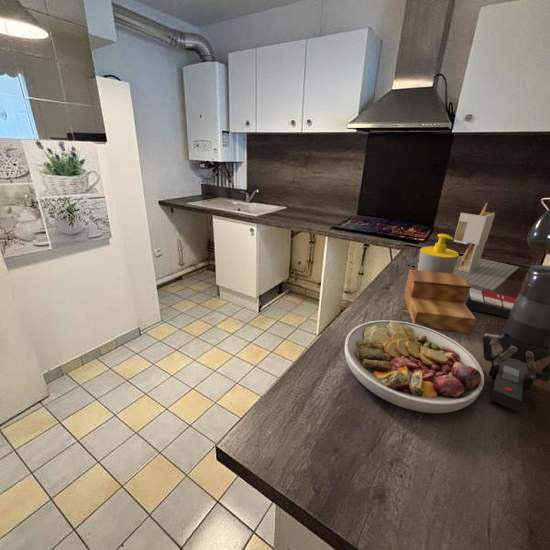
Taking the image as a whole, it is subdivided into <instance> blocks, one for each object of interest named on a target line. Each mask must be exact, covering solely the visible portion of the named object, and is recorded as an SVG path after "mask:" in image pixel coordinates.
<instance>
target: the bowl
mask: <svg viewBox="0 0 550 550" xmlns="http://www.w3.org/2000/svg"><path fill="white" fill-rule="evenodd" d="M344 356H345V360H346V363H347V365H348V367H349V369H350V371H351V372H352V374H353V376H355V378H356V379H357V380H358V381H359V382H360V384H362V385H363V386H364V387H365V388H366V389H368V390H369V391H370V392H372V394H374V395H376V396H378V397H379V398H381V399H382V400H384V401H386V402H388V403H390V404H392V405H395V406H397V407H400V408H403V409H406V410H410V411H415V412H419V413H426V414H446V413H452V412H457V411H460V410H462V409H464V408H467V407H469V406H470V405H471V404H473V403H474V402H475V401H476V399H477V398H478V397H479V396H480V394H481V393H482V390H483V387H484V385H485V376H484V375H485V374H484V371H483V369H482V367H481V365H480V363H479V361H478V360H477V359H476V358H475V356H474V355H473V354H472V353H471V352H470V351H468V349H466V348H465V347H464V346H463V345H461V344H460V343H458V342H457V341H456V340H454V339H452V338H451V337H449V336H447V335H445V334H443V333H441V332H439V331H437V330H435V329H433V328H428V327H423V326H420V325H416V324H413V322H407V321H402V320H393V319H392V320H390V319H389V320H388V319H381V320H371V321H367V322H364V323H361V324H359V325H357V326H355V327H354V328H353V329H351V330H350V331H349V332H348V334H347V336H346V338H345V341H344Z"/></svg>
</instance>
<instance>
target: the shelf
mask: <svg viewBox="0 0 550 550" xmlns="http://www.w3.org/2000/svg"><path fill="white" fill-rule="evenodd" d="M408 270H409V271H408V275H407V280H406V284H405V290H404V293H403V294H404V295H403V299H404V301H405V304H406V308H407V311H408V313H409V317H410V320H411V323H412V324H416V325H420V326H423V327H426V328H429V329H434V330H435V329H437V330H444V331H449V332H458V333H463V334H464V333H466V334H472V333H473V330H474V326H475V323H476V321H477V319H476V317H475V316H474V314H473V312H472V311H471V310H469V309H468V307H467V306H466V305H465V300H466V296H467V293H468V290H469V288H472V287H471V286H470V285H469V283H466V282H465V280H464V279H463V278H462V277H461V276H460V275H459V274H451V273H441V272H430V271H420V270H417V269H408Z"/></svg>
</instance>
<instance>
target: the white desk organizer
mask: <svg viewBox="0 0 550 550" xmlns="http://www.w3.org/2000/svg"><path fill="white" fill-rule="evenodd" d="M487 205H488V202H485V204H484V206H483V208H482V210H481V212H480V213H479V214H472V213H466V212H460V215H459V219H458V222H457V226H456V230H455V234H454V237H453V242H454V243H459V244H464V245H468V246H467V248H466V250H465V252H464V253H463V254H464V255H463V256H462V257H461V259H460V263H459V266H458V270H459V271H463V272H466V273H470V272H471V271H473V270H474V269H476V268H477V267H478V266H479V265H480V262H481V258H482V255H483V251H484V249H485V245H486V242H487V241H488V238H489V235H490V231H491V229H492V225H493V222H494V219H495V215H496V213H495V211H493V212H488V211H486V209H487Z"/></svg>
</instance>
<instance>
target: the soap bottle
mask: <svg viewBox="0 0 550 550" xmlns="http://www.w3.org/2000/svg"><path fill="white" fill-rule="evenodd" d="M437 237H438V242H435V243H434V246H431V245H430V246H428V245H427V246H422V247H421V248H420V249H419V250H420V251H419V257H418V259H419V262H418V268H416V270H420V271H430V272H441V273H451V274H453V271H454V268H455V265H456V262H457V259H458V256H459V254H458V253H459V252H457V251H455V250H453V249H450V248H447V247H448V244H446V240H447V239H449V240H450V241H454V237H453V236H451V235H449V234H446V233H438V234H437Z"/></svg>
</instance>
